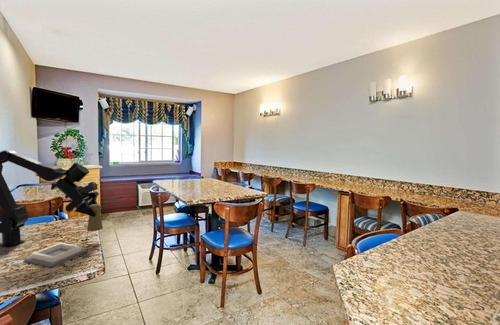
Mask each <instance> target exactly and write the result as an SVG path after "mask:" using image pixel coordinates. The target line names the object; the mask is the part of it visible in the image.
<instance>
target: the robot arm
mask: <svg viewBox="0 0 500 325" xmlns="http://www.w3.org/2000/svg"><path fill="white" fill-rule="evenodd" d="M8 162H9V163H12V164H14V165H17V166H18V167H21V168H24V169H26V170H29V171H30V172H33V173H35V174H36V175H37V176H38V177H39V178H41V179H42V180H44V181H46V182H52V181H55V182H52V183H51V184H50V185H51V187H50V190H52V191H53V190H57V189H58V190H59V191H60V192H61V193H63V194H64V195H65V196H64V198H65V199H69V200H70V202H68V204H66V206H65V211H66V212H67V213H69V214H70V213H72V212H75V213H79V214H83V215H88V216H89V215H90V216H93V217H95V216H96V214H95V212H94V211H93V210H92V209H91V208H90V207H89V206H90V205H92V204H98V202H97V198H98V196H99V195H100V192H98V191H96V190H99V188H98V186H99V185H98V183H97V182H94V181H90V182H88V183H87V185H85V186H82V185H79V186H78V185H77V184H76V183H80V182H81V181H82V180H83V179H84V178H85V177H86V176H87V175H88V174H89V173H90V170H89V169H88V168H87V167H86V166H84V165H82V164H81V163H80V164H79V163H78V162H74V163H73V164H72V165H71V166H70V167H68V169H63V168H62V167H61V166H57V165H53V164H47V163H42V162H40V161H38V160H35V159H33V158H30V157H28V156H26V155H23V154H21V153H18V152H17V151H15V150H12V149H8V150H1V151H0V209H1V211H0V221H1V222H0V234H1V242H0V247H4V248H9V247H13V246H16V245H19V244H22V243H25V242H26V241H25V240H22V239H21V228H24V226H25V224H26V223H27V222H28V219H29V214H30V213H29V212H28V211H27V208H26V206H25V205H22V206H21V205H19V204H17V202H16V200H15V198H14V196H13V194H12V192H11V190H10V188H9V186H8V184H7V181H6V180H5V178H4V175H3V168H4V166H3V164H5V163H8ZM56 180H57V181H56ZM74 209H75V210H74ZM101 213H102V210H101V211H100V214H101Z"/></svg>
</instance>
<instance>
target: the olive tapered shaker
mask: <svg viewBox="0 0 500 325" xmlns="http://www.w3.org/2000/svg"><path fill="white" fill-rule="evenodd" d="M89 207H90V208H91V209H92V210H93V211H94V212H95V214H96V216H95V217H93V216H90V215H88V221H87V227H86V228H87V229H86V231H88V232H97V231H100V230H103V229H104V227H103V221H102V214H101V213H100V211H102V205H101V204H98V203H97V204H92V205H90V206H89Z"/></svg>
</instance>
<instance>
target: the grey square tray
mask: <svg viewBox="0 0 500 325" xmlns="http://www.w3.org/2000/svg"><path fill="white" fill-rule="evenodd" d="M83 253H84V254H85V253H88V249H85V248H82V246H81V245H76V244H71V243H65V242H59V243H56V244H55V245H51V246H48V247H45V248H42V249H40V250H36V251H34V252H32V253H30V254H31V255H30V256H29V257H26V258H24V260H23V262H27V263H31V264H35V265H38V266H39V265H40V266H45V267H49V268H53V267H56V266H58V265H61V264H63V263H66V262H68V261H70V260H72V259H74V258H77V257H78V256H81V255H83Z"/></svg>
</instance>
